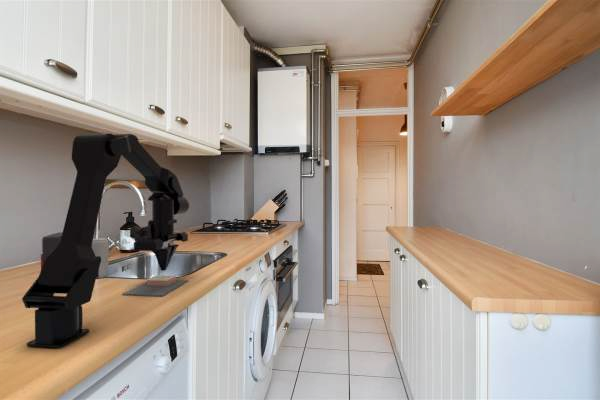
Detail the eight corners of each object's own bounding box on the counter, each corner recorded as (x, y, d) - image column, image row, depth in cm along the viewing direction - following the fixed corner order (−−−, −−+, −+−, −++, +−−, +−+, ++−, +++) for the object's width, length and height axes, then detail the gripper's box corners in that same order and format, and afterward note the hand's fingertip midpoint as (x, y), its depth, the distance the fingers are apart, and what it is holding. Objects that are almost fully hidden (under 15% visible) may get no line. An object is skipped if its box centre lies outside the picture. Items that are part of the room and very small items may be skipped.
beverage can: (92, 279, 94) (92, 240, 94) (88, 276, 98) (88, 239, 97) (110, 276, 98) (110, 239, 98) (105, 274, 101) (105, 237, 101)
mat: (162, 296, 79) (162, 295, 78) (122, 295, 80) (122, 293, 80) (188, 281, 92) (188, 280, 92) (153, 280, 94) (153, 279, 94)
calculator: (55, 283, 91) (55, 232, 90) (73, 281, 92) (72, 231, 92) (39, 294, 80) (38, 237, 80) (59, 292, 82) (58, 236, 82)
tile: (167, 280, 87) (176, 275, 92) (146, 279, 87) (157, 275, 92) (167, 285, 87) (176, 280, 92) (147, 285, 87) (157, 280, 92)
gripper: (155, 214, 99) (155, 262, 99) (114, 218, 80) (114, 278, 81) (188, 214, 98) (188, 263, 98) (154, 218, 79) (154, 279, 79)
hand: (163, 270), depth 89 cm, fingers closed
